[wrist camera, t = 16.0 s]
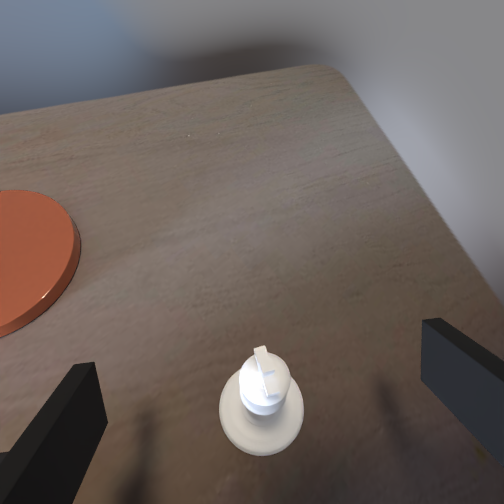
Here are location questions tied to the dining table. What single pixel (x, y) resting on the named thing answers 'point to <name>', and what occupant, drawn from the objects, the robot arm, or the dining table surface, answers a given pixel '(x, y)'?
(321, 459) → the dining table surface
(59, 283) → the orange flat disc
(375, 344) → the dining table surface
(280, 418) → the chess piece
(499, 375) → the robot arm
